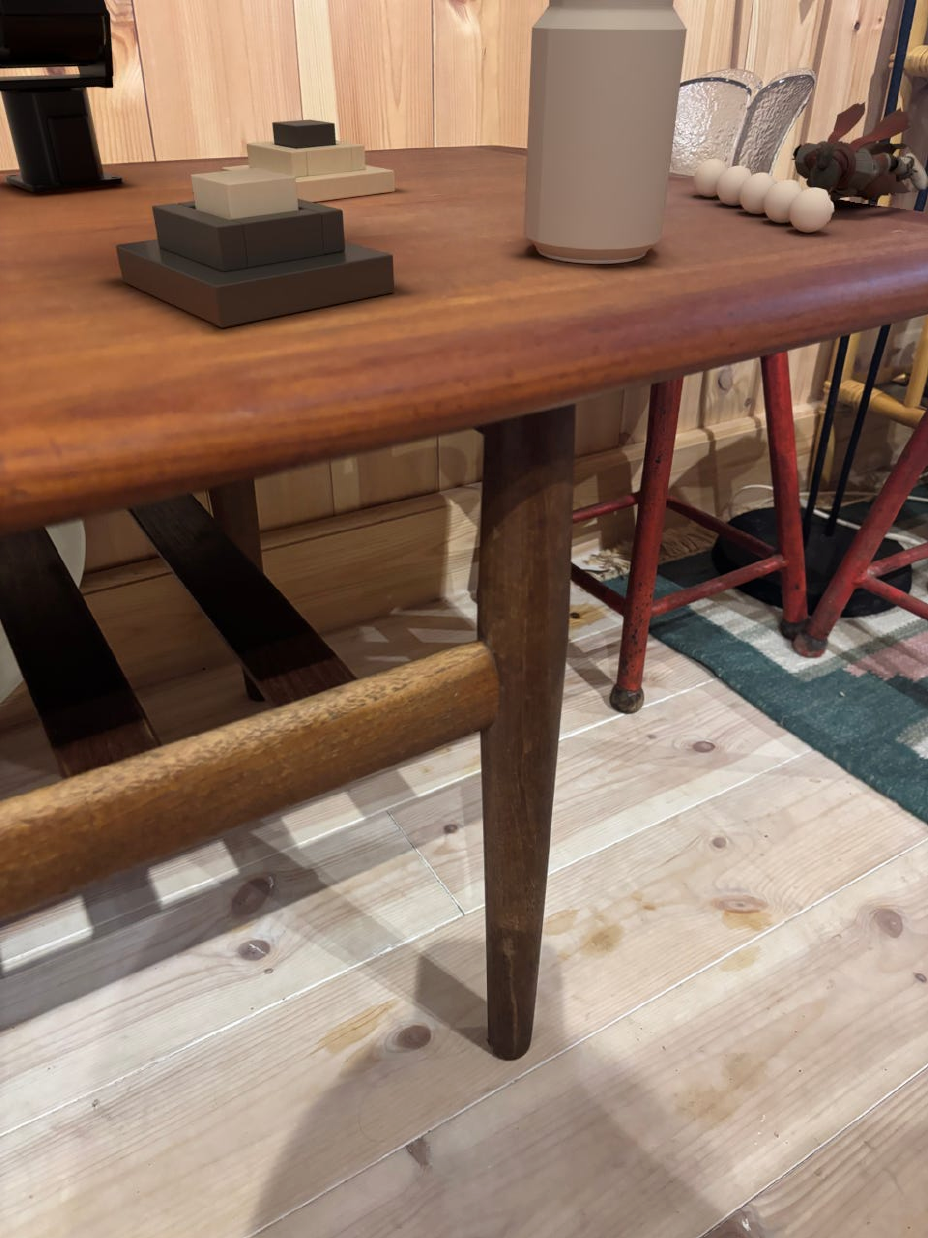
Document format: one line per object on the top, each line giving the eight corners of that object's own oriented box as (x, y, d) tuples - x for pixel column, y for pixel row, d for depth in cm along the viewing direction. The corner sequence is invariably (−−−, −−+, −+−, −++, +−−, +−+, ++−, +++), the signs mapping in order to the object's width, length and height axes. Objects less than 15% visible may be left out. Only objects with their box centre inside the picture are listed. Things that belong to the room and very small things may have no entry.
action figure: (821, 189, 70) (746, 203, 57) (840, 100, 67) (765, 94, 54) (931, 198, 67) (878, 215, 54) (956, 104, 64) (907, 99, 50)
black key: (274, 149, 65) (271, 122, 64) (312, 146, 66) (310, 119, 65) (298, 154, 63) (295, 125, 62) (336, 150, 64) (334, 122, 63)
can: (689, 256, 49) (726, -15, 42) (583, 274, 45) (606, -19, 38) (597, 232, 54) (617, -13, 47) (495, 246, 50) (502, -16, 44)
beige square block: (196, 216, 41) (190, 174, 40) (261, 207, 43) (257, 167, 42) (232, 227, 39) (227, 183, 38) (299, 218, 41) (295, 175, 40)
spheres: (723, 156, 64) (715, 194, 65) (691, 155, 64) (684, 193, 65) (847, 191, 52) (835, 236, 53) (810, 189, 52) (798, 235, 53)
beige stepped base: (223, 188, 66) (217, 142, 65) (326, 176, 71) (323, 133, 69) (288, 205, 61) (283, 155, 59) (395, 191, 65) (393, 145, 64)
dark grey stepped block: (122, 281, 44) (106, 203, 42) (282, 255, 48) (275, 183, 46) (221, 328, 37) (208, 238, 35) (395, 292, 42) (392, 211, 40)
